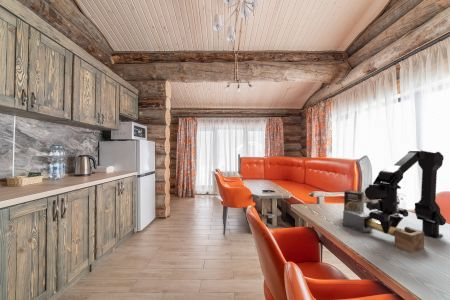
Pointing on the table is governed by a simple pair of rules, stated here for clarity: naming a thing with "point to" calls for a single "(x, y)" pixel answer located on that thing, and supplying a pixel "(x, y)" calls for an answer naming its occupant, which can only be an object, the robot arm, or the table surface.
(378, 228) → the tube
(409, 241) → the socket cradle
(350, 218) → the sleeve
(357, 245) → the table surface
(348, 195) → the coffee box
